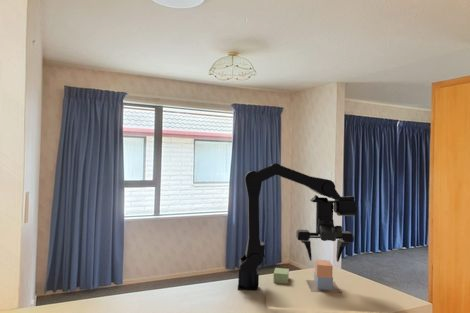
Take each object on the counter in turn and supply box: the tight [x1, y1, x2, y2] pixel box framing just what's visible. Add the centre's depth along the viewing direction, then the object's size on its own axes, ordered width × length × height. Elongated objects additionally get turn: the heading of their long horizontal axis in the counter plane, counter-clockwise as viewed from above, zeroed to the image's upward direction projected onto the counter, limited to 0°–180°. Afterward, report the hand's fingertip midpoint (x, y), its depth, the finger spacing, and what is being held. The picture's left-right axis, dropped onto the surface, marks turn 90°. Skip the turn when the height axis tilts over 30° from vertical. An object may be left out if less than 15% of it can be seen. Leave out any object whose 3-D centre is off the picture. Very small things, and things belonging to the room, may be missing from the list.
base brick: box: [313, 270, 334, 290], centre depth 119 cm, size 5×7×4 cm
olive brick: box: [273, 267, 290, 284], centre depth 125 cm, size 5×7×4 cm
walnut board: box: [305, 279, 343, 294], centre depth 119 cm, size 10×12×1 cm
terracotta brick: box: [314, 259, 334, 278], centre depth 119 cm, size 5×7×4 cm
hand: (324, 260), depth 119 cm, fingers open, 9 cm apart
